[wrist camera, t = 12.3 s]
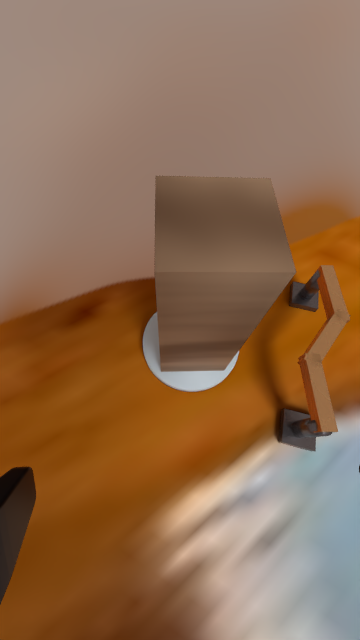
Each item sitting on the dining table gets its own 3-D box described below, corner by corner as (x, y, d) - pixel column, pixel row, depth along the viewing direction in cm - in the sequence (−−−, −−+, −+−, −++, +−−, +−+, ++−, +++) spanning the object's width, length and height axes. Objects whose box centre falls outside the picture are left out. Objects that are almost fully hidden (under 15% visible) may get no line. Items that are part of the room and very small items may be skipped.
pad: (250, 378, 22) (253, 375, 21) (154, 403, 21) (154, 401, 20) (219, 296, 25) (221, 291, 24) (135, 313, 24) (134, 309, 23)
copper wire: (317, 452, 20) (356, 453, 16) (273, 440, 20) (300, 438, 16) (319, 291, 26) (348, 262, 22) (286, 284, 26) (308, 253, 22)
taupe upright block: (224, 370, 21) (296, 272, 9) (160, 371, 21) (154, 272, 9) (218, 314, 23) (270, 178, 12) (160, 315, 23) (155, 175, 11)
